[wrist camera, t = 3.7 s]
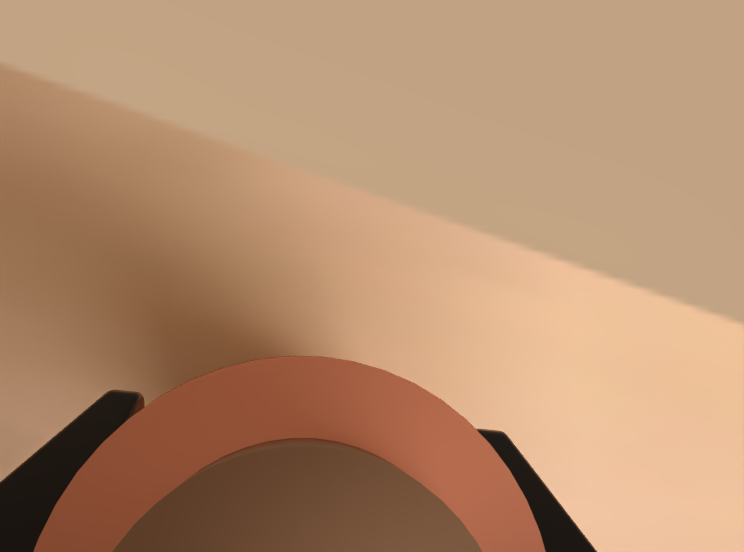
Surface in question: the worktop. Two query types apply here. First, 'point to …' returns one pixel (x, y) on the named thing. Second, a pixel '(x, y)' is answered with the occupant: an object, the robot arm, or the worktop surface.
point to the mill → (294, 470)
